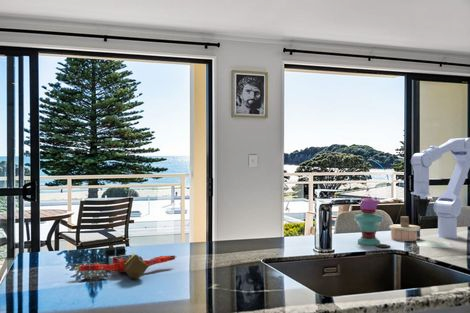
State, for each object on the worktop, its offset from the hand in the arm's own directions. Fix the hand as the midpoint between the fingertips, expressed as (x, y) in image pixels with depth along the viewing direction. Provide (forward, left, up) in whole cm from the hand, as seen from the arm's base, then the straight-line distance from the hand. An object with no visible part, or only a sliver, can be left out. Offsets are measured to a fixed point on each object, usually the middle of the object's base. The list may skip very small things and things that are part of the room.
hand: (421, 215), depth 186 cm
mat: (+10, +3, -10) cm, 15 cm away
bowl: (0, -7, -10) cm, 12 cm away
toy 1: (+76, -92, -11) cm, 120 cm away
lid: (0, -6, -6) cm, 9 cm away
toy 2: (+13, -21, -11) cm, 27 cm away
